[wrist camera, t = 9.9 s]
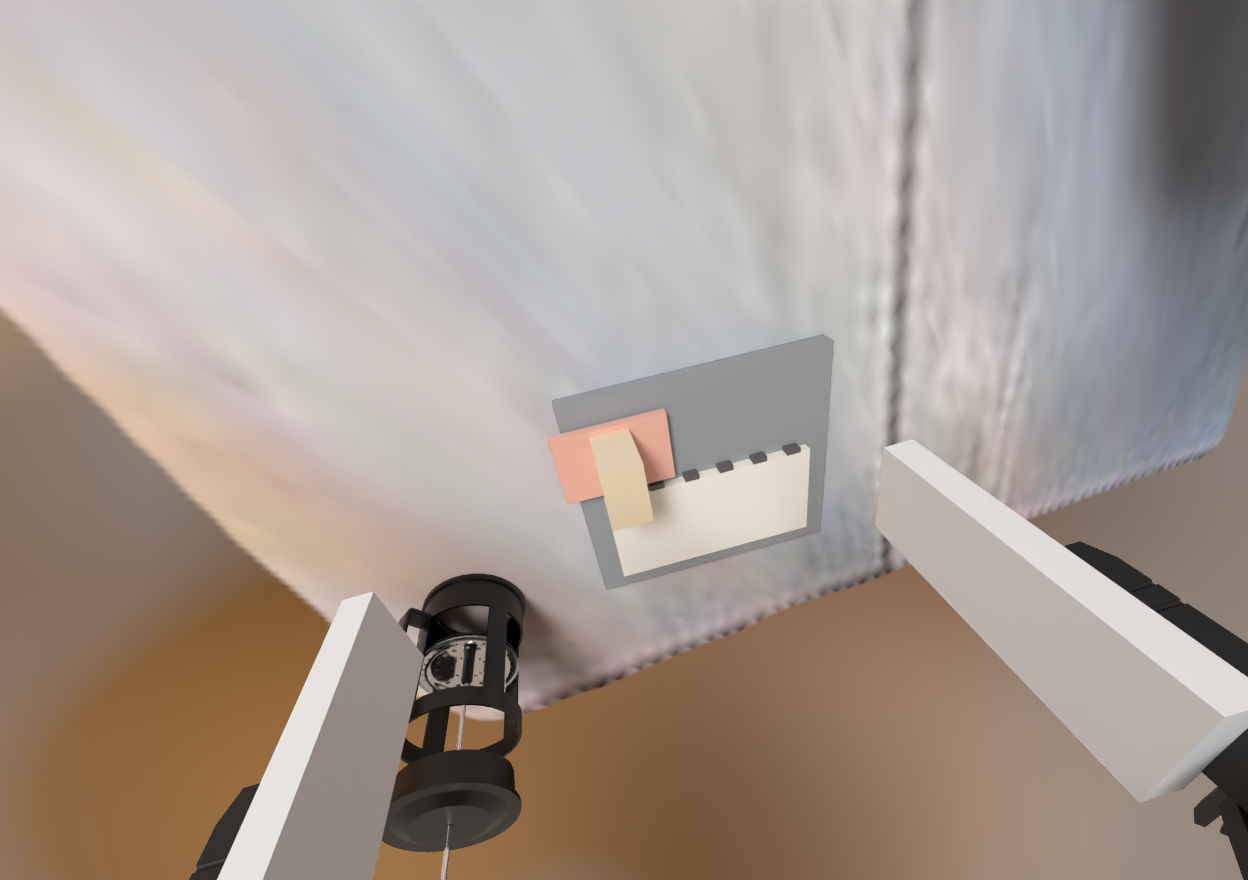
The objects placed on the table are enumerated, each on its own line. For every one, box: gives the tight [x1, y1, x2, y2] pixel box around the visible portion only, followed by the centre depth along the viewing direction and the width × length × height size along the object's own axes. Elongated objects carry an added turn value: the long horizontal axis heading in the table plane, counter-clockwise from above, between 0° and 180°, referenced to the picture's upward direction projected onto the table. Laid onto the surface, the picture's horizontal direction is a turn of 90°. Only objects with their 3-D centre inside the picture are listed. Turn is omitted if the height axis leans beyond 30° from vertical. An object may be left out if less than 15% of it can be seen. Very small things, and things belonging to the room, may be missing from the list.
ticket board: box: [552, 335, 834, 590], centre depth 39 cm, size 22×20×2 cm
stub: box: [548, 408, 675, 532], centre depth 33 cm, size 9×6×6 cm, turn 100°
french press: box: [382, 574, 525, 880], centre depth 34 cm, size 12×9×23 cm
